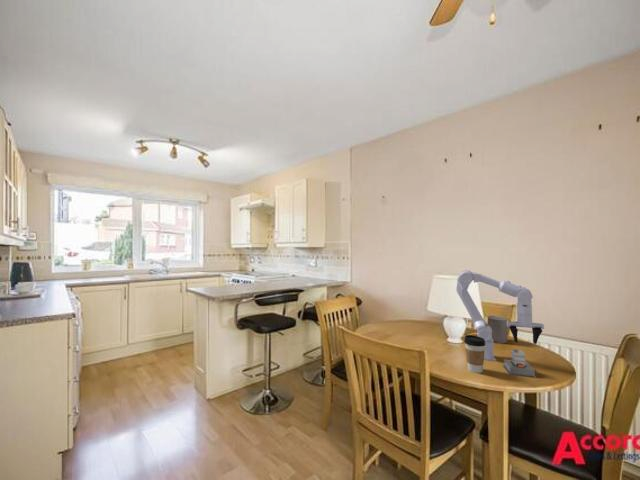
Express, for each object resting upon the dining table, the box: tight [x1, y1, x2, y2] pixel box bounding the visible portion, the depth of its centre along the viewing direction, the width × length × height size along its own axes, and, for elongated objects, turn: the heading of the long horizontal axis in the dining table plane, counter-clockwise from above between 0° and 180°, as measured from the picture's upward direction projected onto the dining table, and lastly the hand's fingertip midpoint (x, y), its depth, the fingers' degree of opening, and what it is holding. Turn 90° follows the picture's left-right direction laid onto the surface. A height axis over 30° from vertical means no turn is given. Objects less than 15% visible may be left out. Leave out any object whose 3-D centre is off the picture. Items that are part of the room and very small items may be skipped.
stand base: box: [502, 358, 538, 378], centre depth 127 cm, size 10×10×4 cm
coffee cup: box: [463, 334, 485, 374], centre depth 129 cm, size 8×8×15 cm
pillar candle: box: [487, 315, 508, 344], centre depth 168 cm, size 10×10×15 cm
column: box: [510, 348, 526, 367], centre depth 127 cm, size 4×4×7 cm
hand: (525, 342), depth 135 cm, fingers open, 7 cm apart
